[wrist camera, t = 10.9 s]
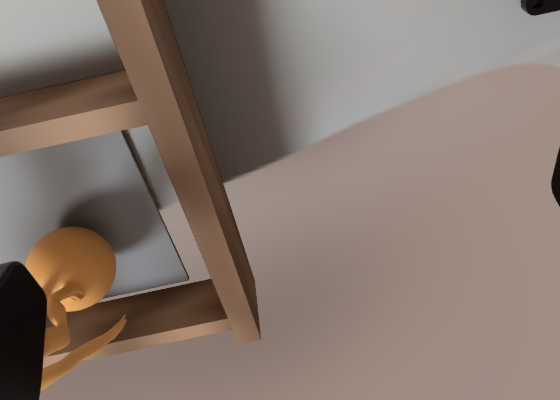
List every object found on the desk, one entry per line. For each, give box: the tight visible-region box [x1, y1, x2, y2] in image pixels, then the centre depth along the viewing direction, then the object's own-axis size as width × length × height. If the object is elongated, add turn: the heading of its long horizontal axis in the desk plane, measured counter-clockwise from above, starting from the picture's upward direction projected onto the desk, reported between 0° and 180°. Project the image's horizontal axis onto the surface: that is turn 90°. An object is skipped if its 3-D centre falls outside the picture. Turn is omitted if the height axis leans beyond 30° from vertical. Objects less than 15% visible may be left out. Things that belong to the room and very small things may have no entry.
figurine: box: [25, 227, 126, 391], centre depth 19 cm, size 8×6×12 cm
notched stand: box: [0, 0, 261, 368], centre depth 18 cm, size 13×27×4 cm, turn 10°
